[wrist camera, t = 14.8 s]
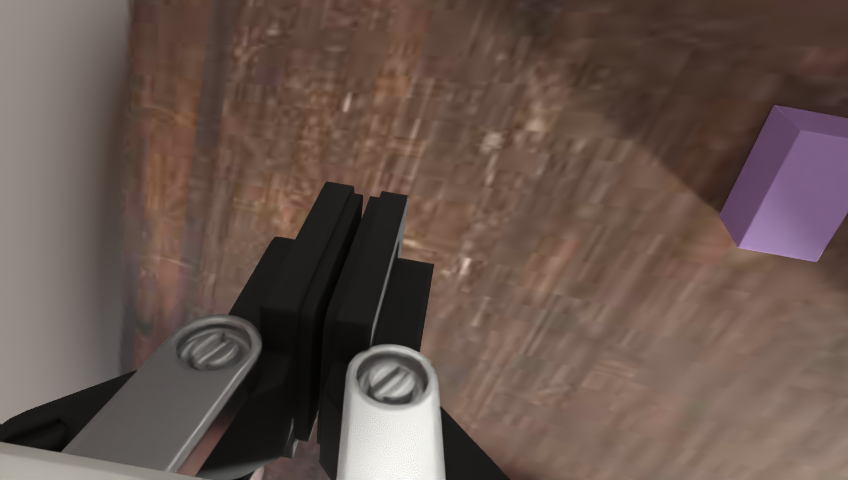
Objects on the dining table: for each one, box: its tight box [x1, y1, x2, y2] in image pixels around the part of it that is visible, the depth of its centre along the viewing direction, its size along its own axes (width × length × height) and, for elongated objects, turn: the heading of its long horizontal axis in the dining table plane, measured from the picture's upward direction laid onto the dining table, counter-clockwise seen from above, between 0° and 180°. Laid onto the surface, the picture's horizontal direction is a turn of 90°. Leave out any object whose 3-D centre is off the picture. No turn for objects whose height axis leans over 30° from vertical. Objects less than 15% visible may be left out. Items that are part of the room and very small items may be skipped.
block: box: [719, 105, 848, 262], centre depth 37 cm, size 8×5×4 cm, turn 171°
